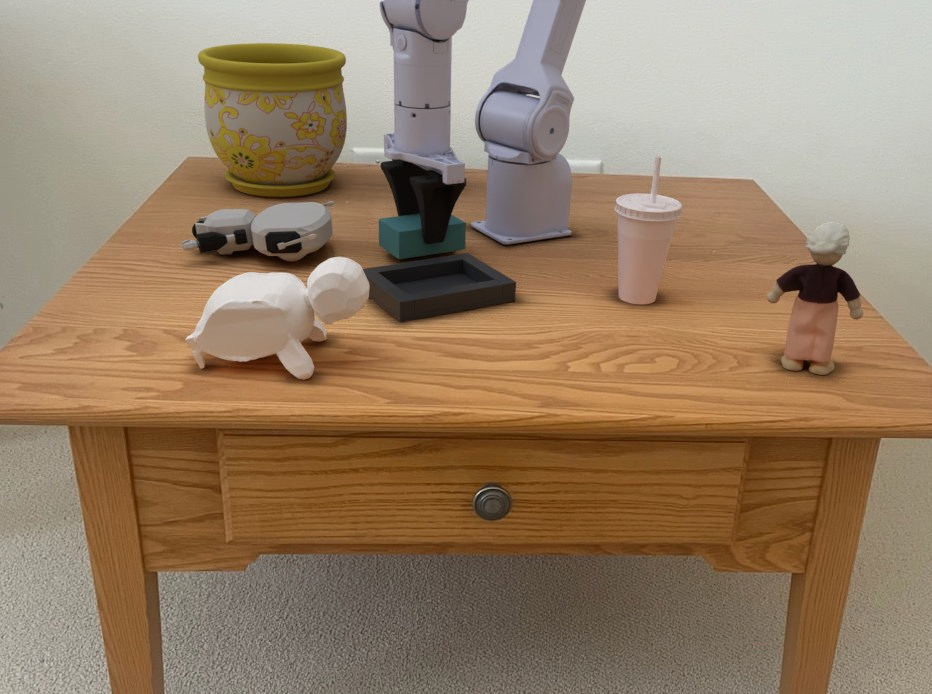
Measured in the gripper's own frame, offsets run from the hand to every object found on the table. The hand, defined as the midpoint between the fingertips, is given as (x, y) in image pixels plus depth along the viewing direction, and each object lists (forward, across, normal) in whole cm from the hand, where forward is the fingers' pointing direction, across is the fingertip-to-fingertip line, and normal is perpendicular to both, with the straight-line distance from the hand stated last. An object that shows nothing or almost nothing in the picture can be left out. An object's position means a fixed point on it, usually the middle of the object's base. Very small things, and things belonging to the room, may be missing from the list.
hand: (422, 234), depth 103 cm
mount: (+2, +11, -4) cm, 12 cm away
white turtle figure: (+2, +18, -22) cm, 29 cm away
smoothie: (+3, +20, +14) cm, 24 cm away
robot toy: (+2, -8, -15) cm, 17 cm away
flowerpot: (+3, -33, -4) cm, 33 cm away
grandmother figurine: (+3, +39, +17) cm, 43 cm away
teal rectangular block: (+1, 0, 0) cm, 1 cm away
